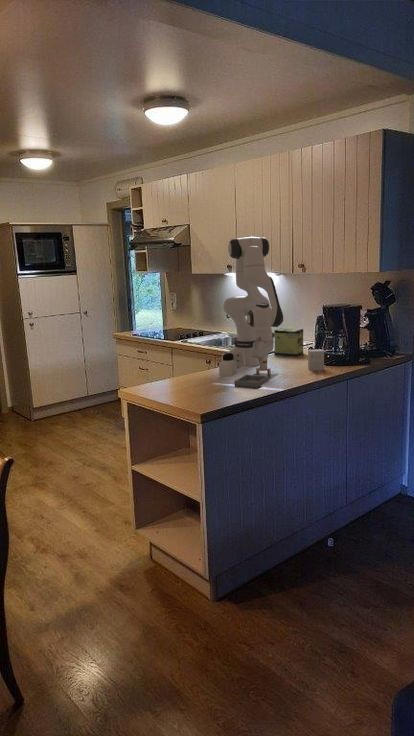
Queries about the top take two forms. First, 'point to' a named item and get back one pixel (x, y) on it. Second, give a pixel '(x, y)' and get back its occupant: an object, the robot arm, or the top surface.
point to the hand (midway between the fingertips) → (263, 363)
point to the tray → (251, 381)
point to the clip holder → (265, 373)
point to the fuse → (263, 363)
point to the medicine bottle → (227, 365)
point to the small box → (316, 359)
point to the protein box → (288, 342)
